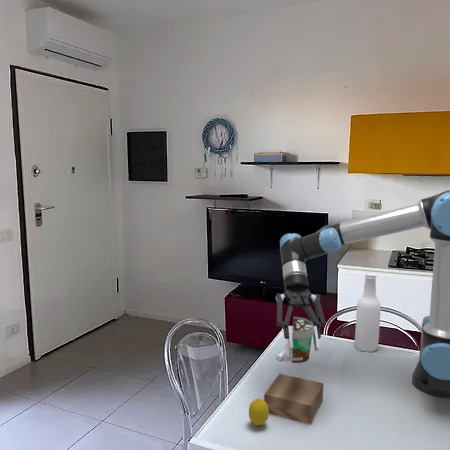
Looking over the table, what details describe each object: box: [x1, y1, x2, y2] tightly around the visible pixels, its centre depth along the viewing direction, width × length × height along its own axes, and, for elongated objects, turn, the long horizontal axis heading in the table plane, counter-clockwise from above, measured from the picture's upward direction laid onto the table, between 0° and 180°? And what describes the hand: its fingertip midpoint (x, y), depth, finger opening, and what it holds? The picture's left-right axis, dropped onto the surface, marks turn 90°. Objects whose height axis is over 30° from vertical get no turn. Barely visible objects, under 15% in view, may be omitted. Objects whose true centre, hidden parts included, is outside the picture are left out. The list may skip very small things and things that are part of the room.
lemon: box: [248, 397, 270, 426], centre depth 125 cm, size 6×6×8 cm
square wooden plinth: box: [263, 373, 324, 425], centre depth 136 cm, size 14×14×6 cm
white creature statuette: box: [275, 325, 302, 365], centre depth 168 cm, size 10×9×12 cm
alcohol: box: [354, 272, 382, 353], centre depth 176 cm, size 9×9×30 cm
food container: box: [291, 316, 315, 364], centre depth 132 cm, size 12×6×10 cm, turn 172°
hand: (304, 349), depth 130 cm, fingers closed on food container, 7 cm apart
